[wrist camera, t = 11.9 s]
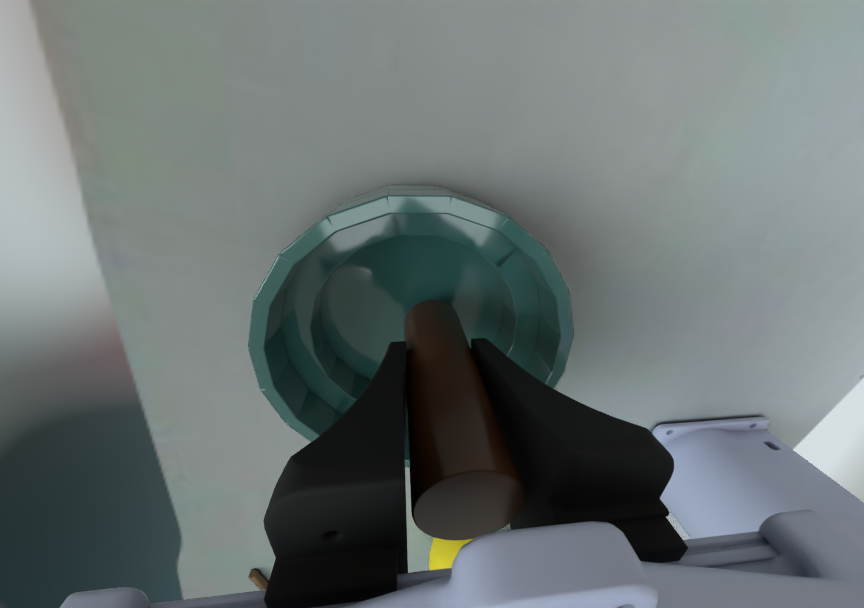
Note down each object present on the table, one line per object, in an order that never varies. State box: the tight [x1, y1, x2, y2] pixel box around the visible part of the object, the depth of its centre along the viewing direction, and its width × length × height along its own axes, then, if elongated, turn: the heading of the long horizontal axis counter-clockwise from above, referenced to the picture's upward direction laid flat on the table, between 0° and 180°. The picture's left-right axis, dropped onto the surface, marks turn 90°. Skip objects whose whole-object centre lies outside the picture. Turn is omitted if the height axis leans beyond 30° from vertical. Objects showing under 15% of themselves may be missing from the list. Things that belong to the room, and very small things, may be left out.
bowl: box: [248, 185, 574, 467], centre depth 15 cm, size 13×13×4 cm
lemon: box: [429, 537, 475, 570], centre depth 24 cm, size 7×5×5 cm
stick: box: [249, 570, 268, 591], centre depth 27 cm, size 7×1×1 cm, turn 9°
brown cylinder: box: [404, 299, 526, 540], centre depth 11 cm, size 3×3×9 cm
